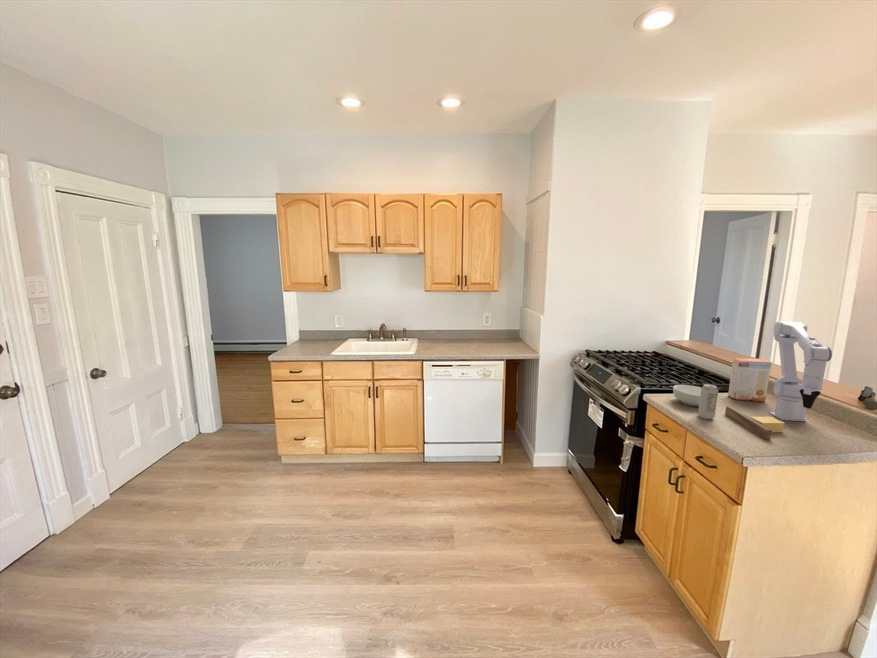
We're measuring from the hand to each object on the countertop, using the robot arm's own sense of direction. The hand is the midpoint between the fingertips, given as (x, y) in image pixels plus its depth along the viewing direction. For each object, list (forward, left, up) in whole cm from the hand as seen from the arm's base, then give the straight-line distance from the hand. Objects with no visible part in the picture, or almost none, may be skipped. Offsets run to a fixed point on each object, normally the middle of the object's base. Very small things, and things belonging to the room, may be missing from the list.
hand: (807, 407), depth 147 cm
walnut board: (+20, -2, -10) cm, 23 cm away
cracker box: (-2, -36, -11) cm, 38 cm away
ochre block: (+14, 0, -11) cm, 18 cm away
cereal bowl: (+29, -26, -11) cm, 41 cm away
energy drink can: (+32, -9, -11) cm, 35 cm away
